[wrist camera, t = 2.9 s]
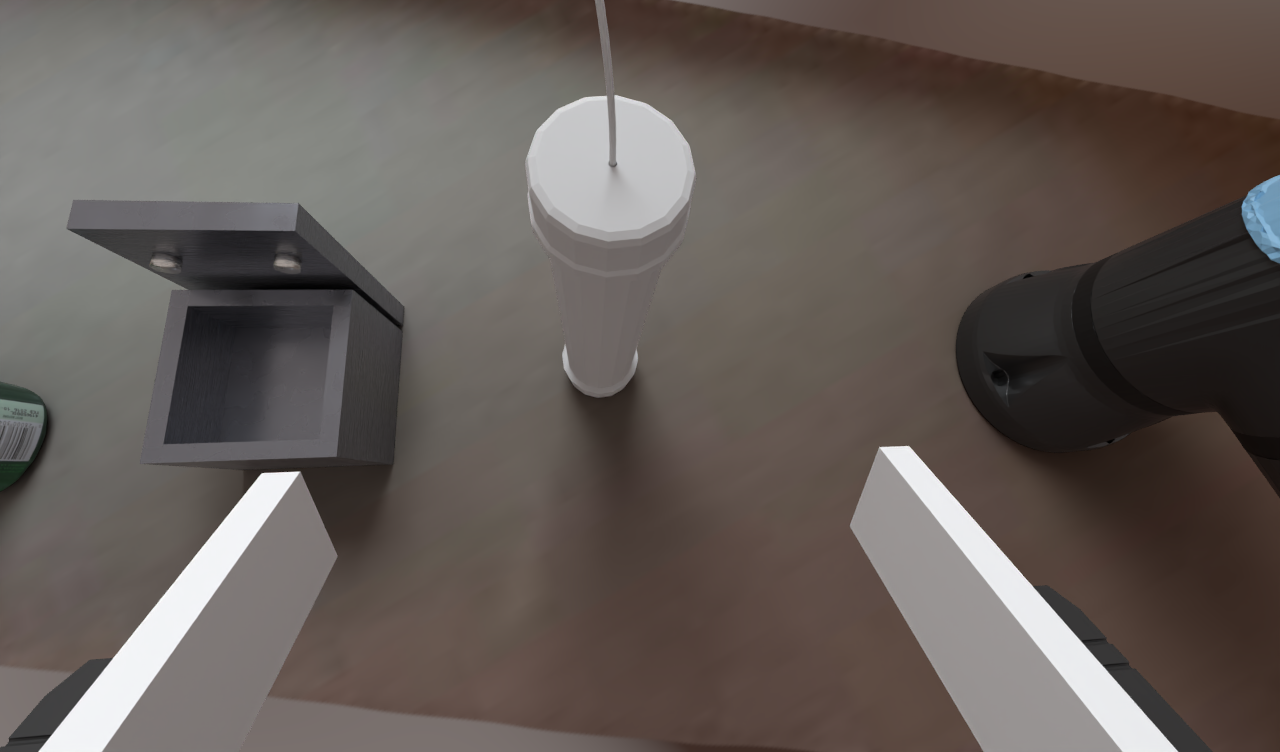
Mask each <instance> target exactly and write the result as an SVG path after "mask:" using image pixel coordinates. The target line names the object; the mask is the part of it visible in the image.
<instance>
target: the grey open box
mask: <svg viewBox="0 0 1280 752" xmlns="http://www.w3.org/2000/svg"><path fill="white" fill-rule="evenodd" d="M66 229H68V230H70V231H72V232H74V233H76V234H78V235H80V236H82V237H84V238H86V239H88V240H90V241H92V242H94V243H96V244H98V245H100V246H102V247H104V248H106V249H108V250H110V251H112V252H114V253H116V254H118V255H120V256H122V257H124V258H126V259H128V260H130V261H132V262H134V263H136V264H138V265H140V266H142V267H144V268H146V269H148V270H150V271H152V272H154V273H156V274H158V275H160V276H162V277H164V278H166V279H168V280H170V281H172V282H174V283H176V284H178V285H180V286H182V287H184V288H186V289H188V290H172V292H171V298H170V303H169V308H168V314H167V319H166V325H165V330H164V335H163V341H162V346H161V351H160V357H159V362H158V368H157V373H156V378H155V384H154V389H153V394H152V400H151V405H150V411H149V416H148V421H147V427H146V432H145V437H144V443H143V448H142V453H141V459H140V464H153V465H169V466H186V467H203V468H219V469H236V470H255V469H282V468H309V467H336V466H362V465H389V464H393V460H394V445H395V431H396V417H397V403H398V388H399V374H400V360H401V346H402V331H401V330H400V329H399V328H398V327H396V326H395V325H403V317H404V306H403V305H402V304H401V303H400V302H399V301H398V300H397V299H396V298H395V297H393V296H392V295H391V294H390V293H389V292H388V291H387V290H386V289H385V288H384V287H383V286H382V285H381V284H380V283H379V282H378V281H377V280H376V279H375V278H374V277H373V276H372V275H371V274H370V273H369V272H368V271H367V270H366V269H365V268H364V267H363V266H362V265H361V264H360V263H359V262H358V261H357V260H356V259H355V258H354V257H353V256H352V255H351V254H350V253H349V252H348V251H347V250H346V249H345V248H343V247H342V246H341V245H340V244H339V243H338V242H337V241H336V240H335V239H334V238H333V237H332V236H331V235H330V234H329V233H328V232H327V231H326V230H325V229H324V228H323V227H322V226H321V225H320V224H319V223H318V222H317V221H316V220H315V219H314V218H313V217H312V216H311V215H310V214H309V213H308V212H307V211H306V210H305V209H304V208H303V207H302V206H301V205H300V204H299V203H237V202H171V201H104V200H73V204H72V208H71V212H70V216H69V220H68V224H67V228H66Z"/></svg>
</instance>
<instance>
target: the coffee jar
mask: <svg viewBox="0 0 1280 752" xmlns="http://www.w3.org/2000/svg"><path fill="white" fill-rule="evenodd" d="M46 425H47V410H46V407H45V404H44V402H43V401H42V399H41V398H40V397H39V396H38V395H37V394H35V393H34V392H32V391H30V390H28V389H25V388H22V387H19V386H16V385H12V384H7V383H3V382H0V491H2V490H4V489H5V488H7V487H9V486H10V485H11V484H13V483H14V482H15V481H17V480H18V479H19V478H20V477H21V475H22V474H23V473H24V472H25V470H26V469H27V468H28V467H29V465H30V464H31V463H32V462H33V460H34V459H35V457H36V455H37V453H38V452H39V450H40V447H41V445H42V443H43V440H44V437H45V434H46Z"/></svg>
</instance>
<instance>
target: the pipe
mask: <svg viewBox="0 0 1280 752" xmlns="http://www.w3.org/2000/svg"><path fill="white" fill-rule="evenodd" d="M595 3H596V10H597V17H598V23H599V30H600V37H601V46H602V54H603V62H604V70H605V81H606V91H607V96H597V97H584V98H582V99H580V100H578V101H575V102H573V103H571V104H568V105H566V106H564V107H562V108H559V109H557V110H556V111H555V112H554V113H553V114H552V115H551V116H550V117H549V118H548V119H547V120H546V121H545V122H544V124H543V125H542V126H541V127H540V128H539V129H538V130H537V131H536V133H535V135H534V138H533V141H532V144H531V147H530V150H529V153H528V156H527V159H526V162H525V166H526V174H527V182H528V190H529V192H528V202H529V210H530V218H531V225H532V230H533V233H534V234H535V236H536V238H537V239H538V241H539V243H540V244H541V246H542V247H543V249H544V251H545V252H546V254H547V256H548V257H549V258H550V261H551V266H552V272H553V277H554V283H555V289H556V294H557V300H558V305H559V311H560V316H561V322H562V327H563V333H564V338H565V347H564V350H563V354H562V356H563V364H564V370H565V372H566V374H567V375H568V377H569V379H570V380H571V382H572V384H573V385H574V387H576V388H577V389H578V390H580V391H581V392H582V393H584V394H585V395H589V396H593V397H597V398H600V397H607V396H612V395H614V394H615V393H617V392H619V391H621V390H622V389H623V388H624V387H625V386H626V385H627V383H628V382H629V381H630V379H631V378H632V377H633V375H634V373H635V370H636V366H637V362H638V355H637V349H636V348H637V345H638V342H639V339H640V336H641V332H642V329H643V326H644V323H645V320H646V316H647V313H648V310H649V307H650V303H651V300H652V297H653V294H654V291H655V287H656V284H657V281H658V278H659V275H660V271H661V268H662V267H663V266H664V265H665V264H666V263H667V261H668V260H669V259H670V258H671V256H672V255H673V254H674V253H675V251H676V250H677V249H678V248H679V246H680V245H681V243H682V241H683V238H684V234H685V230H686V226H687V222H688V217H689V213H690V204H691V200H692V196H693V192H694V187H695V183H696V179H697V178H696V173H695V168H694V164H693V159H692V154H691V150H690V146H689V144H688V143H687V141H686V140H685V139H684V137H683V136H682V134H681V133H680V131H679V130H678V129H677V127H676V126H675V124H674V123H673V121H671V120H670V119H668V118H667V117H666V116H664V115H663V114H661V113H660V112H658V111H657V110H655V109H654V108H652V107H651V106H649V105H648V104H646V103H642V102H639V101H635V100H631V99H628V98H624V97H621V96H617V95H614V84H613V71H612V62H611V52H610V43H609V34H608V27H607V20H606V12H605V5H604V0H595Z"/></svg>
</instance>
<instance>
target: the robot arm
mask: <svg viewBox="0 0 1280 752" xmlns="http://www.w3.org/2000/svg"><path fill="white" fill-rule="evenodd" d="M956 354H957V362H958V367H959V372H960V375H961V378H962V381H963V383H964V386H965V388H966V390H967V392H968V394H969V396H970V398H971V399H972V401H973V403H974V404H975V406H976V407H977V408H978V410H979V411H980V412H981V413H982V415H983V416H984V417H985V418H986V419H987V420H988V421H989V422H990V423H991V424H992V425H993V426H994V427H995V428H996V429H998V430H999V431H1000V432H1002V433H1003V434H1004V435H1006V436H1007V437H1009V438H1010V439H1012V440H1014V441H1016V442H1018V443H1020V444H1022V445H1024V446H1027V447H1029V448H1032V449H1036V450H1040V451H1045V452H1054V453H1062V452H1073V451H1085V450H1093V449H1098V448H1101V447H1105V446H1108V445H1111V444H1113V443H1115V442H1117V441H1119V440H1121V439H1123V438H1124V437H1126V436H1127V435H1129V434H1130V433H1132V432H1134V431H1137V430H1139V429H1142V428H1145V427H1148V426H1151V425H1153V424H1156V423H1158V422H1161V421H1163V420H1165V419H1168V418H1170V417H1172V416H1178V415H1186V414H1194V413H1202V412H1218V413H1219V414H1220V415H1221V417H1222V418H1223V419H1224V421H1225V422H1226V423H1227V425H1228V426H1229V427H1230V429H1231V430H1232V431H1233V433H1234V434H1235V436H1236V437H1237V438H1238V440H1239V441H1240V443H1241V444H1242V446H1243V448H1244V449H1245V450H1246V451H1247V453H1248V454H1249V455H1250V457H1251V458H1252V460H1253V461H1254V462H1255V464H1256V465H1257V467H1258V468H1259V469H1260V471H1261V472H1262V474H1263V475H1264V477H1265V478H1266V479H1267V481H1268V482H1269V484H1270V485H1271V486H1272V488H1273V489H1274V491H1275V492H1276V493H1277V495H1278V496H1279V498H1280V175H1278V176H1276V177H1273V178H1271V179H1269V180H1267V181H1265V182H1263V183H1261V184H1260V185H1258V186H1256V187H1255V188H1253V189H1252V190H1251V191H1250V192H1249V193H1248V195H1247V196H1244V197H1242V198H1240V199H1238V200H1235V201H1233V202H1231V203H1229V204H1226V205H1224V206H1222V207H1220V208H1217V209H1215V210H1213V211H1211V212H1208V213H1206V214H1204V215H1201V216H1199V217H1197V218H1195V219H1192V220H1190V221H1188V222H1186V223H1183V224H1181V225H1179V226H1177V227H1174V228H1172V229H1170V230H1167V231H1165V232H1163V233H1161V234H1158V235H1156V236H1154V237H1152V238H1149V239H1147V240H1145V241H1143V242H1140V243H1138V244H1136V245H1133V246H1131V247H1129V248H1127V249H1124V250H1122V251H1120V252H1118V253H1116V254H1114V255H1111V256H1109V257H1107V258H1105V259H1102V260H1100V261H1098V262H1096V263H1089V264H1082V265H1076V266H1070V267H1064V268H1060V269H1056V270H1053V271H1035V272H1029V273H1024V274H1021V275H1018V276H1015V277H1012V278H1010V279H1008V280H1006V281H1004V282H1002V283H1000V284H998V285H996V286H994V287H992V288H990V289H988V290H986V291H985V292H983V293H982V294H980V295H979V296H978V297H977V298H976V299H975V300H974V301H973V302H972V303H971V304H970V306H969V307H968V308H967V310H966V312H965V313H964V315H963V317H962V320H961V322H960V325H959V329H958V333H957V341H956ZM850 527H851V529H852V531H853V532H854V534H855V536H856V537H857V539H858V541H859V542H860V544H861V546H862V548H863V549H864V551H865V553H866V554H867V556H868V558H869V559H870V561H871V563H872V564H873V566H874V568H875V569H876V571H877V573H878V574H879V576H880V578H881V580H882V581H883V583H884V585H885V586H886V588H887V590H888V591H889V593H890V595H891V596H892V598H893V600H894V601H895V603H896V605H897V606H898V608H899V610H900V612H901V613H902V615H903V617H904V618H905V620H906V622H907V623H908V625H909V627H910V628H911V630H912V632H913V633H914V635H915V637H916V638H917V640H918V642H919V644H920V645H921V647H922V649H923V650H924V652H925V654H926V655H927V657H928V659H929V660H930V662H931V664H932V665H933V667H934V669H935V670H936V672H937V674H938V676H939V677H940V679H941V681H942V682H943V684H944V686H945V687H946V689H947V691H948V692H949V694H950V696H951V697H952V699H953V701H954V702H955V704H956V706H957V708H958V709H959V711H960V713H961V714H962V716H963V718H964V719H965V721H966V723H967V724H968V726H969V728H970V729H971V731H972V733H973V734H974V736H975V738H976V739H977V741H978V743H979V745H980V746H981V748H982V750H983V751H984V752H1212V751H1211V749H1210V748H1209V747H1208V746H1207V745H1206V744H1205V743H1204V742H1203V741H1202V740H1201V739H1200V738H1199V737H1198V736H1197V734H1196V733H1195V732H1194V731H1193V730H1192V729H1191V728H1190V727H1189V726H1188V725H1187V724H1186V723H1185V722H1184V721H1183V719H1182V718H1181V717H1180V716H1179V715H1178V714H1177V713H1176V712H1175V711H1174V710H1173V709H1172V708H1171V707H1170V705H1169V704H1168V703H1167V702H1166V701H1165V700H1164V699H1163V698H1162V697H1161V696H1160V695H1159V694H1158V693H1157V692H1156V690H1155V689H1154V688H1153V687H1152V686H1151V685H1150V684H1149V683H1148V682H1147V681H1146V680H1145V679H1144V678H1143V677H1142V675H1141V674H1140V673H1139V672H1138V671H1137V670H1136V669H1132V668H1131V667H1130V666H1129V661H1128V660H1127V659H1126V658H1125V657H1124V656H1123V655H1122V654H1121V653H1120V652H1119V651H1118V650H1117V649H1116V648H1115V646H1114V645H1113V644H1109V643H1108V642H1107V640H1106V637H1105V636H1104V635H1103V634H1102V633H1101V631H1100V630H1099V629H1098V628H1097V627H1096V626H1095V625H1094V624H1093V623H1092V622H1091V621H1090V620H1089V619H1088V617H1087V616H1086V615H1085V614H1084V613H1083V612H1082V611H1081V610H1080V609H1079V608H1077V607H1076V606H1075V605H1073V604H1072V603H1071V602H1069V601H1068V600H1067V599H1065V598H1064V597H1062V596H1061V595H1060V594H1058V593H1057V592H1056V591H1054V590H1053V589H1052V588H1050V587H1049V586H1047V585H1045V586H1032V585H1031V584H1030V583H1029V582H1028V581H1027V580H1026V578H1025V577H1024V576H1023V575H1022V574H1021V573H1020V572H1019V570H1018V569H1017V568H1016V567H1015V566H1014V565H1013V564H1012V562H1011V561H1010V560H1009V559H1008V558H1007V557H1006V556H1005V555H1004V553H1003V552H1002V551H1001V550H1000V549H999V548H998V547H997V545H996V544H995V543H994V542H993V541H992V540H991V539H990V538H989V536H988V535H987V534H986V533H985V532H984V531H983V530H982V528H981V527H980V526H979V525H978V524H977V523H976V522H975V520H974V519H973V518H972V517H971V516H970V515H969V514H968V513H967V511H966V510H965V509H964V508H963V507H962V506H961V505H960V503H959V502H958V501H957V500H956V499H955V498H954V497H953V496H952V494H951V493H950V492H949V491H948V490H947V489H946V488H945V486H944V485H943V484H942V483H941V482H940V481H939V480H938V478H937V477H936V476H935V475H934V474H933V473H932V472H931V471H930V469H929V468H928V467H927V466H926V465H925V464H924V463H923V461H922V460H921V459H920V458H919V457H918V456H917V455H916V454H915V452H914V451H913V450H912V449H911V448H910V447H909V446H898V447H879V449H878V452H877V455H876V457H875V460H874V463H873V465H872V468H871V471H870V473H869V476H868V479H867V481H866V484H865V487H864V489H863V492H862V495H861V497H860V500H859V502H858V505H857V508H856V510H855V513H854V516H853V518H852V521H851V524H850ZM337 557H338V556H337V553H336V551H335V549H334V547H333V544H332V542H331V540H330V538H329V535H328V533H327V531H326V529H325V526H324V524H323V522H322V520H321V517H320V515H319V513H318V510H317V508H316V506H315V504H314V501H313V499H312V497H311V495H310V492H309V490H308V488H307V486H306V483H305V481H304V479H303V477H302V474H301V472H278V473H262V474H261V475H260V476H259V477H258V479H257V480H256V481H255V482H254V484H253V485H252V486H251V487H250V488H249V490H248V491H247V492H246V493H245V495H244V496H243V497H242V498H241V500H240V501H239V502H238V503H237V505H236V506H235V507H234V508H233V510H232V511H231V512H230V513H229V515H228V516H227V517H226V518H225V520H224V521H223V522H222V523H221V525H220V526H219V527H218V528H217V530H216V531H215V532H214V533H213V535H212V536H211V537H210V538H209V540H208V541H207V542H206V543H205V545H204V546H203V547H202V548H201V550H200V551H199V552H198V553H197V555H196V556H195V557H194V558H193V560H192V561H191V562H190V563H189V565H188V566H187V567H186V568H185V570H184V571H183V572H182V573H181V575H180V576H179V577H178V578H177V580H176V581H175V582H174V583H173V585H172V586H171V587H170V588H169V589H168V591H167V592H166V593H165V594H164V596H163V597H162V598H161V599H160V601H159V602H158V603H157V604H156V606H155V607H154V608H153V609H152V611H151V612H150V613H149V614H148V616H147V617H146V618H145V619H144V621H143V622H142V623H141V624H140V626H139V627H138V628H137V629H136V631H135V632H134V633H133V634H132V636H131V637H130V638H129V639H128V641H127V642H126V643H125V644H124V646H123V647H122V648H121V649H120V651H119V652H118V653H117V654H116V656H115V657H114V658H108V659H95V660H89V661H88V662H87V663H85V664H84V665H83V666H82V667H80V668H79V669H78V670H77V671H75V672H74V673H73V674H72V675H70V676H69V677H68V678H67V679H66V680H64V682H62V683H61V684H60V685H58V686H57V687H56V688H54V689H53V690H52V691H51V692H49V693H48V694H47V695H46V696H45V697H44V698H43V699H42V700H41V701H40V703H39V704H38V705H37V706H36V707H35V708H34V709H33V711H32V712H31V713H30V714H29V715H28V716H27V718H26V719H25V720H24V721H23V722H22V723H21V725H20V726H19V727H18V728H17V729H16V730H15V731H14V733H13V734H12V735H11V736H10V737H9V742H8V744H7V745H6V746H5V747H1V748H0V752H239V751H240V749H241V747H242V745H243V743H244V740H245V739H246V737H247V735H248V733H249V731H250V729H251V727H252V725H253V723H254V721H255V719H256V717H257V715H258V713H259V711H260V709H261V707H262V705H263V703H264V701H265V699H266V697H267V695H268V693H269V691H270V689H271V687H272V685H273V683H274V682H275V680H276V678H277V676H278V674H279V672H280V670H281V668H282V666H283V664H284V662H285V660H286V658H287V656H288V654H289V652H290V650H291V648H292V646H293V644H294V642H295V640H296V638H297V636H298V634H299V632H300V630H301V628H302V626H303V624H304V622H305V620H306V618H307V616H308V614H309V612H310V610H311V608H312V606H313V604H314V602H315V600H316V598H317V596H318V595H319V593H320V591H321V589H322V587H323V585H324V583H325V581H326V579H327V577H328V575H329V573H330V571H331V569H332V567H333V565H334V563H335V561H336V559H337Z"/></svg>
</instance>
